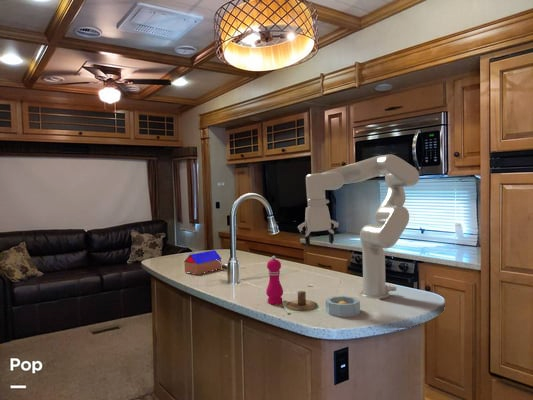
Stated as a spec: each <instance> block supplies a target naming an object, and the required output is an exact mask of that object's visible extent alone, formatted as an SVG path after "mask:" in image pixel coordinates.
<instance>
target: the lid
mask: <svg viewBox="0 0 533 400" xmlns="http://www.w3.org/2000/svg"><path fill="white" fill-rule="evenodd" d="M306 292H307V291H303V290H299V291H297V300H296V299H294V300H290V301H287V302H288V303H287V304H286V307H287V308H288V309H290V310H294V311H308V312H311V311H310V310H314V309H316V308H317V307H318V305H319V304H318V303H317V301H316V302H314V300H308V299H306V298H307V297H306Z"/></svg>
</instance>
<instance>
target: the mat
mask: <svg viewBox="0 0 533 400" xmlns="http://www.w3.org/2000/svg"><path fill="white" fill-rule="evenodd" d="M313 301H314V302H316V303H317V301H315V300H313ZM288 302H289V301H282V303H281V304H282V306H283V308H284V310H285V312H286V314H287V315H292V313H305V312H322V311H324V310H323V309H322V307H321V306H320V305H319V304H318V307H317V308H316V309H314V310H310V311H294V310H290V309H288V308H287V307H286V304H287V303H288Z"/></svg>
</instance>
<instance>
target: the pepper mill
mask: <svg viewBox="0 0 533 400" xmlns="http://www.w3.org/2000/svg"><path fill="white" fill-rule="evenodd" d="M281 267H282V263H281V261H280V260H279V259H277V257H276V256H275V255H273V256H271V259H270V260H268V261H267V263H266V268H267V270H268V276H269V281H268V285H267V287H266V291H265V292H266V296H267V297H268V298H267V304H269V305H280V304H282V302H283V297H282V296H283V295H284V289H283V286H282V285H281V284H282V283H281V281H280V275H281V271H280V270H281V269H282V268H281Z"/></svg>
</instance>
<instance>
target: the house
mask: <svg viewBox="0 0 533 400" xmlns="http://www.w3.org/2000/svg"><path fill="white" fill-rule="evenodd" d="M216 259H217V260H219V261H220V262H221V264H220V263H219V262H218V261H217V260H216ZM183 263H184V273H185V272H190V273H194V274H193V275H195V274H199V275H201V274H200V273H203V274H205V273H204V272H208V271H212V270H216V269H220V268H221V269H222V257H221V256H220V255H219V253H218V252H217V250H216V249H214V250H209V251H203V252H198V253H192V254H189V255H188V256H187V258H186V259H185V260H184V261H183ZM221 269H220V270H221ZM216 271H217V270H216ZM212 272H213V271H212ZM208 273H209V272H208Z"/></svg>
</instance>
